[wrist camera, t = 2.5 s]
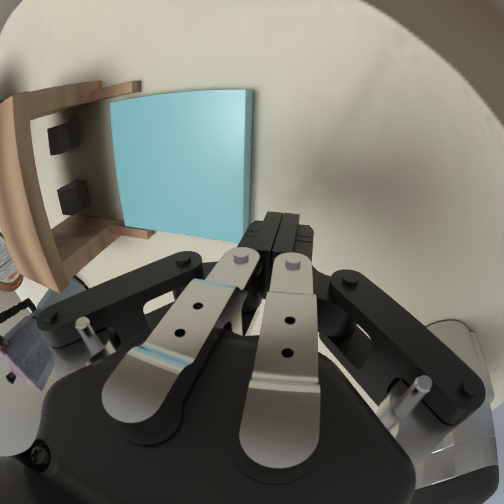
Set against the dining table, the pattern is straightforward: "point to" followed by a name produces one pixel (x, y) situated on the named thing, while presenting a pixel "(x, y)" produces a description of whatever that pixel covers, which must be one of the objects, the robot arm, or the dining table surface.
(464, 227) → the dining table surface
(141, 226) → the teal plate
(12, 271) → the tin
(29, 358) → the moka pot
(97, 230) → the overhang bridge
